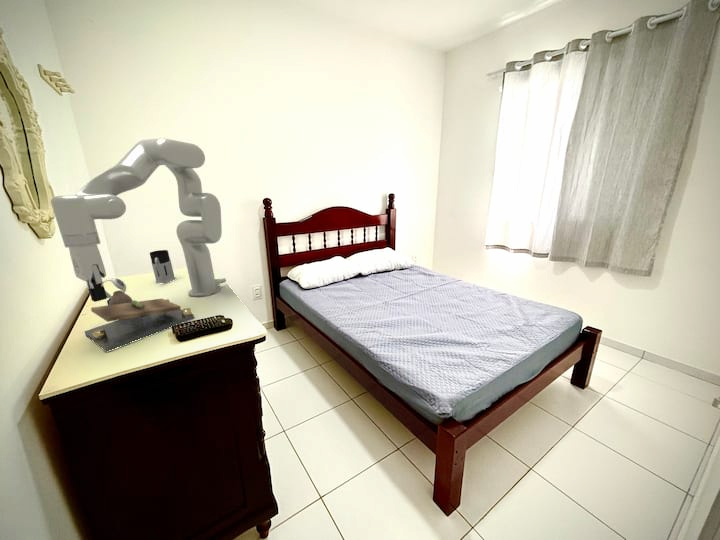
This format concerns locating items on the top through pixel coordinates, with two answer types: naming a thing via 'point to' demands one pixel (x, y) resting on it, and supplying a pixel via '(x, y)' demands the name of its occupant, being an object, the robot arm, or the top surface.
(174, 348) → the top surface
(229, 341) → the top surface
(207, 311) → the top surface
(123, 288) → the watch
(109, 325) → the base
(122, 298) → the vase
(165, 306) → the plate
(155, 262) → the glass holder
